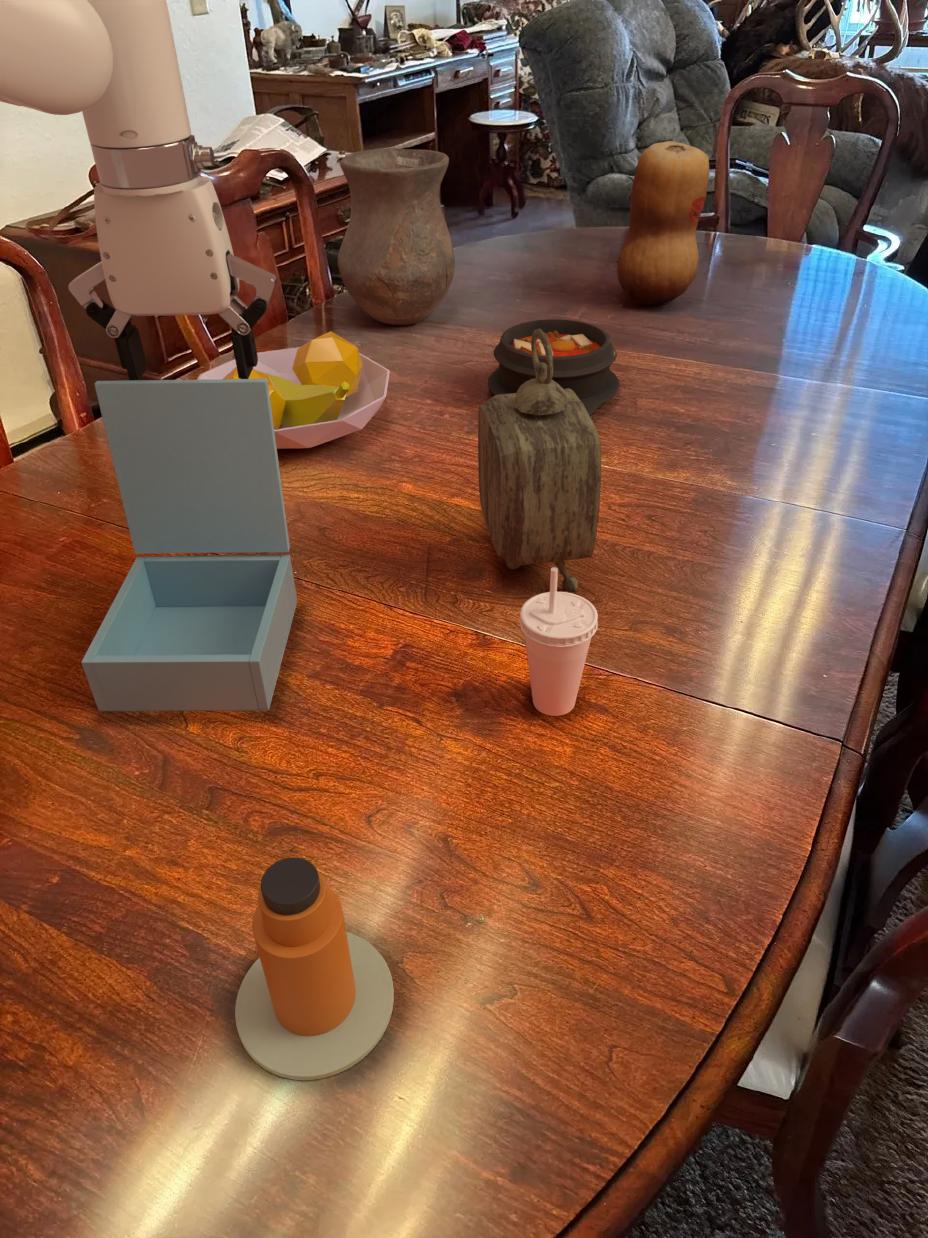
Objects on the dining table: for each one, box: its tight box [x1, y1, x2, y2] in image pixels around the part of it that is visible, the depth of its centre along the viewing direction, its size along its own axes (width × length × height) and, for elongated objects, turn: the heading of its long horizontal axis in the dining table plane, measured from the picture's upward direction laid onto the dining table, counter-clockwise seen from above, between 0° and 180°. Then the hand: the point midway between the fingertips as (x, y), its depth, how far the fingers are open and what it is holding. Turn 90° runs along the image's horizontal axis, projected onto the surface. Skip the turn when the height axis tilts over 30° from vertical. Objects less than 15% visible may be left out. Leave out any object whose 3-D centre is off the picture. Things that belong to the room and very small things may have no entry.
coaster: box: [234, 931, 395, 1081], centre depth 59 cm, size 10×10×1 cm
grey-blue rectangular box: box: [80, 554, 298, 712], centre depth 84 cm, size 16×15×6 cm
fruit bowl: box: [196, 330, 391, 450], centre depth 120 cm, size 28×27×11 cm
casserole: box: [487, 318, 621, 417], centre depth 129 cm, size 25×19×8 cm
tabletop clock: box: [477, 329, 602, 593], centre depth 90 cm, size 14×9×25 cm, turn 9°
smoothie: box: [518, 566, 599, 717], centre depth 76 cm, size 6×6×14 cm
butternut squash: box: [616, 140, 710, 306], centre depth 153 cm, size 14×13×25 cm
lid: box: [93, 379, 291, 555], centre depth 85 cm, size 17×15×5 cm
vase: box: [337, 147, 456, 326], centre depth 149 cm, size 20×19×25 cm
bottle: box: [251, 856, 356, 1036], centre depth 55 cm, size 5×5×12 cm
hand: (192, 374), depth 82 cm, fingers open, 9 cm apart
